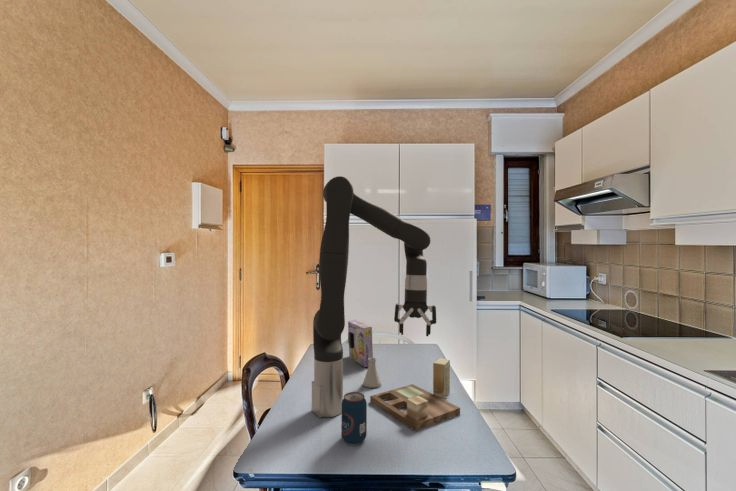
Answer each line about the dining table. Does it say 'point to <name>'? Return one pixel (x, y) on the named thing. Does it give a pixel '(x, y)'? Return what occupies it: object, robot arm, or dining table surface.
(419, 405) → the birch block
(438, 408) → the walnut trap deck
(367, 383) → the flask
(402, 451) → the dining table surface
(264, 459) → the dining table surface
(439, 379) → the skincare box
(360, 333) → the cake pan box
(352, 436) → the soda can
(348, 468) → the dining table surface
